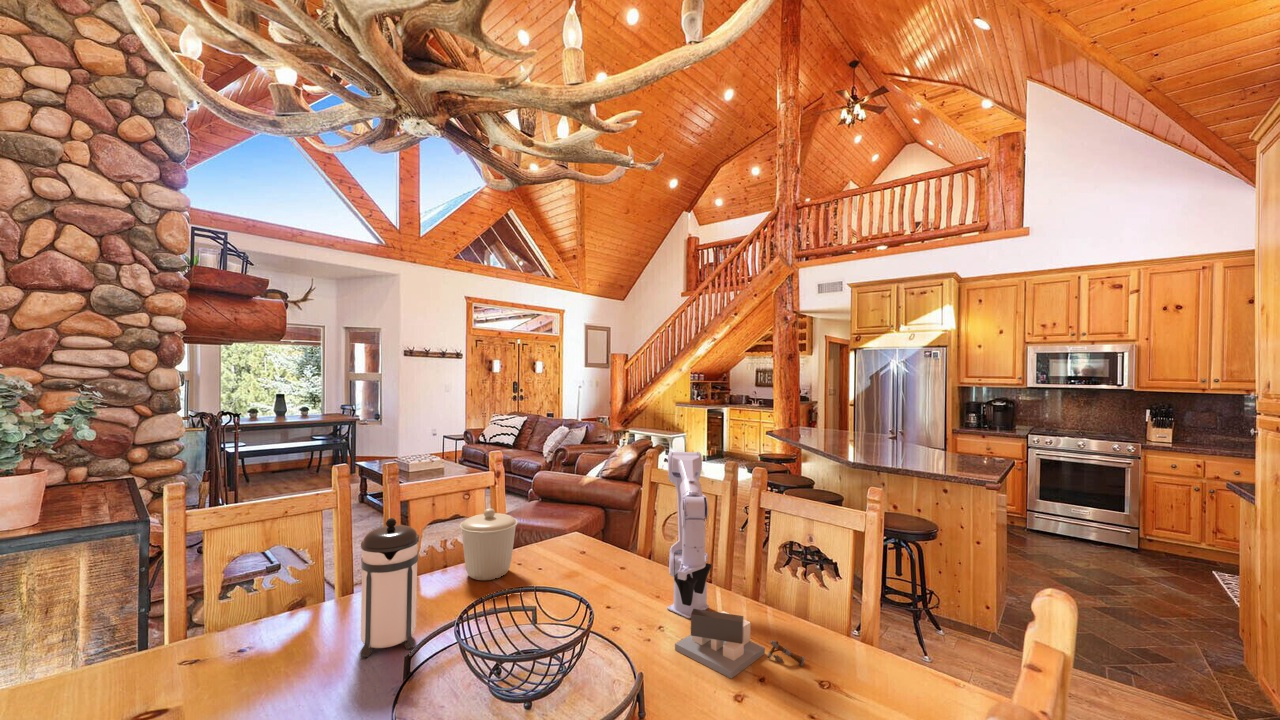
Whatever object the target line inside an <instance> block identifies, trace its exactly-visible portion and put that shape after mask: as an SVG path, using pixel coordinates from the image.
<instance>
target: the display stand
mask: <svg viewBox="0 0 1280 720" xmlns="http://www.w3.org/2000/svg"><path fill="white" fill-rule="evenodd" d="M719 613H726V614H730V613H729V612H726V611H725V610H722V611H721V612H719ZM765 648H766V647H765V646H763V645H760V644H758V643H756V642H754V641H751V621H748V620H747V619H745V618H743V641H742V644H740V643H734V642H728V641H722V640H715V639H709V638H703V637H697V636H691V634H690V635H689V634H688V635H687V636H686V637H684V638H682V639H681V640H679V641H677V642H676V643H675V644H674V650H675V651H676V652H677V653H679V654H682V655H684V656H686V657H688V658H690V659H692V660H694V661H695V662H697V663H699V664H701V665H703V666H705V667H707V668H709V669H711V670H713V671H715V672H717V673H719V674H720V675H723V676H725V677H727V678H728V679H733V678H734V677H736V676H737V675H739V674H740V673H741V672H742V671H744V670H745V669H746V668H748V667H749V666H751V665H752V664H753V663H754V662H756V661H757V660H759V659H760V658H761V657H762V656H764V655H765V654H766V651H765V650H766V649H765Z"/></svg>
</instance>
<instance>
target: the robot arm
mask: <svg viewBox="0 0 1280 720" xmlns="http://www.w3.org/2000/svg"><path fill="white" fill-rule="evenodd" d="M702 457H703V455H702V454H701V452H700V451H672V450H671V451H669V452H668V454H667V473H668V481H669V482H671V483H672V484H673V485H674V486H675V490H676V501H677V502H676V503H677V505H676V506H677V507H676V508H677V528H678V529H677V530H678V531H677V532H678V534H677V535H678V536H677V537H678V540H677V541H675V542H674V544H672V545H671V547H670V549H669V552H668V554H669V556H668V572H669V575H670V576H671V577H672V578H673V603H672V604H670V605H668V606H666V609H667V610H669V611H671V612H673V613H675V614H677V615H679V616H682V617H684V618H686V619H691V613H692V611H693V609H699V610H706V611H707V610H708V609H709V608H710V605H708V602H707V601H708V600H707V599H708V583H707V578H708V575H709V573H710V571H711V569H712V564H711V563H707V562H708V559H709V557H708V553H706V521H707V520H708V516H709V503H708V499H707V496H706V495H705V494H703V489H702V484H701V481H700V478H701V474H702V468H703V458H702Z"/></svg>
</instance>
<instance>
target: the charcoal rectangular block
mask: <svg viewBox="0 0 1280 720" xmlns="http://www.w3.org/2000/svg"><path fill="white" fill-rule="evenodd" d="M743 619H744V615H738V614H732V613H729V614H726V613H720V612H718V611H712V610H711V611H710V610H707V609H706V610H699V609H693V611H692V613H691V618H690V635H691V636H697V637H703V638H709V639H715V640H722V641H728V642H734V643H740V644H742V641H743Z"/></svg>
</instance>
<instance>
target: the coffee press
mask: <svg viewBox="0 0 1280 720" xmlns="http://www.w3.org/2000/svg"><path fill="white" fill-rule="evenodd" d="M385 525H386V526H381V527H378V528H375V529H373V530H371V531H369V532H367V534H366V535H365V536H364V538H363V540H362V541H361V542H360V549H361V550H362V552H361V553H362V554H361V555H362V557H361V559H360V561H361V562H360V568H361V601H360V603H361V605H360V606H361V607H360V609H361V610H360V640H361V642H362V644H364V645H363V647H362V650H361V652H360V657H361V658H364V659H367V658H369V657H370V656H371V653H372V652H373V651H374V650H375V649H385V648H391V647H394V646H398V645H399V644H402V645H403V646H404V647H405V649H406V650H408V651H409V650H411V649H413V648H414V647H415V646H416V643H415V640H414V639H413V635H414V633H415V631H416V628H417V593H418V590H417V588H418V579H417V578H418V561H419V550H418V547H419V546H418V544H419V542H420V535H419V534H418V532H417V531H416V530H415V528H413V527H412V526H410V525H409V526H408V525H402V524H397V520H396V519H395V518H392V517H389V518H388V519H387V520H386V522H385ZM413 646H414V647H413Z"/></svg>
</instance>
